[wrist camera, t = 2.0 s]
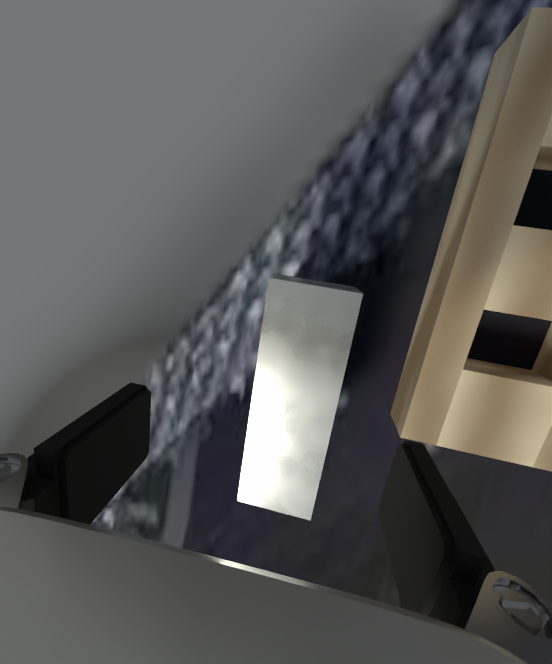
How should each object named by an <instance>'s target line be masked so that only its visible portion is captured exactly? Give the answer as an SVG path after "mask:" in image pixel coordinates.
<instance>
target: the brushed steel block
mask: <svg viewBox="0 0 552 664" xmlns="http://www.w3.org/2000/svg"><path fill="white" fill-rule="evenodd" d="M362 296H363V293H362V292H361V291H360V290H359V289H357V288H356V287H352V286H346V285H340V284H334V283H328V282H322V281H316V280H310V279H304V278H298V277H292V276H286V275H280V274H279V275H276V276H273V277H270V278H269V281H268V288H267V295H266V302H265V309H264V316H263V323H262V330H261V337H260V344H259V351H258V358H257V365H256V372H255V379H254V386H253V393H252V400H251V407H250V414H249V421H248V428H247V435H246V442H245V449H244V456H243V463H242V470H241V477H240V484H239V491H238V498H237V501H240V502H244V503H247V504H251V505H255V506H258V507H262V508H266V509H270V510H273V511H277V512H281V513H284V514H288V515H292V516H296V517H299V518H303V519H307V520H311V516H312V512H313V507H314V503H315V499H316V495H317V490H318V486H319V482H320V477H321V473H322V469H323V464H324V460H325V456H326V451H327V447H328V443H329V439H330V434H331V430H332V426H333V421H334V417H335V413H336V408H337V404H338V400H339V395H340V391H341V387H342V383H343V378H344V374H345V370H346V365H347V361H348V357H349V352H350V348H351V344H352V339H353V335H354V331H355V327H356V322H357V318H358V314H359V309H360V305H361V301H362Z"/></svg>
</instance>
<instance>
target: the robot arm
mask: <svg viewBox="0 0 552 664" xmlns="http://www.w3.org/2000/svg"><path fill="white" fill-rule="evenodd" d="M150 408H151V392H150V391H149V390H148V389H147V387H146V386H145V385H140V384H135V383H129V384H128V385H126V386H125V387H123V388H122V389H120V390H119V391H117V392H116V393H115V394H113V395H112V396H110V397H109V398H107V399H106V400H104V401H103V402H101V403H100V404H98V405H97V406H95V407H94V408H92V409H91V410H89V411H88V412H86V413H85V414H84V415H82V416H81V417H79V418H78V419H76V420H75V421H73V422H72V423H70V424H69V425H67V426H66V427H64V428H63V429H62V430H60V431H59V432H57V433H56V434H54V435H53V436H51V437H50V438H48V439H47V440H45V441H44V442H42V443H41V444H39V445H38V446H37V447H35V448H34V454H32V455H31V456H29V457H28V458H27V457H26V456H24V455H22V454H19V453H2V454H0V664H552V606H551V605H550V604H549V603H548V602H547V601H546V600H545V599H544V598H543V597H542V596H541V595H540V594H539V593H538V592H537V591H536V590H534V589H533V588H532V587H531V586H529V585H528V584H527V583H525V582H523V581H522V580H520V579H519V578H517V577H515V576H513V575H510V574H508V573H505V572H499V571H495V569H494V567H493V566H492V564H491V562H490V560H489V558H488V557H487V555H486V553H485V551H484V550H483V548H482V546H481V544H480V542H479V541H478V539H477V537H476V535H475V534H474V532H473V530H472V528H471V526H470V525H469V523H468V521H467V519H466V517H465V516H464V514H463V512H462V510H461V509H460V507H459V505H458V503H457V501H456V500H455V498H454V496H453V495H452V493H451V492H450V491H449V489H448V487H447V485H446V483H445V482H444V480H443V478H442V476H441V475H440V473H439V471H438V469H437V467H436V466H435V464H434V462H433V460H432V458H431V457H430V455H429V453H428V451H427V449H426V448H425V446H424V445H423V444H420V443H415V442H410V441H405V442H404V443H403V444H399V445H398V446H397V449H396V452H395V456H394V459H393V462H392V465H391V468H390V472H389V475H388V478H387V481H386V484H385V488H384V491H383V494H382V497H381V500H380V504H379V515H380V519H381V524H382V528H383V532H384V536H385V540H386V545H387V549H388V553H389V557H390V562H391V566H392V570H393V574H394V578H395V583H396V587H397V591H398V595H399V600H400V604H401V608H399V607H396V606H392V605H389V604H385V603H382V602H378V601H375V600H372V599H368V598H365V597H361V596H358V595H354V594H350V593H347V592H343V591H339V590H336V589H332V588H328V587H324V586H321V585H317V584H313V583H310V582H306V581H302V580H299V579H295V578H291V577H288V576H284V575H280V574H276V573H273V572H269V571H265V570H262V569H258V568H254V567H250V566H246V565H243V564H239V563H235V562H231V561H228V560H224V559H220V558H216V557H213V556H209V555H205V554H201V553H197V552H193V551H190V550H186V549H182V548H178V547H174V546H171V545H167V544H163V543H159V542H155V541H151V540H147V539H143V538H140V537H136V536H132V535H128V534H124V533H120V532H116V531H112V530H108V529H105V528H101V527H97V526H93V525H90V524H91V523H92V522H93V520H94V519H95V518H96V517H97V516H98V514H99V513H100V512H101V511H102V510H103V509H104V507H105V506H106V505H107V504H108V503H109V501H110V500H111V499H112V498H113V497H114V496H115V494H116V493H117V492H118V491H119V490H120V488H121V487H122V486H123V485H124V484H125V483H126V481H127V480H128V479H129V478H130V477H131V475H132V474H133V473H134V472H135V471H136V470H137V468H138V467H139V466H140V465H141V464H142V462H143V461H144V460H145V459H146V457H147V455H148V452H149V439H150Z"/></svg>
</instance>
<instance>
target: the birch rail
mask: <svg viewBox="0 0 552 664" xmlns="http://www.w3.org/2000/svg"><path fill="white" fill-rule="evenodd" d="M533 169H541V170H550V171H552V8H547V7H532V8H531V10H530V11H529V12H528V13H527V15H526V16H525V17H524V18H523V19H522V21H521V22H520V23H519V24H518V26H517V27H516V28H515V29H514V30H513V32H512V33H511V34H510V35H509V37H508V38H507V39H506V40H505V41H504V43H503V44H502V45H501V46H500V47H499V49H498V50H497V51H496V52H495V54H494V57H493V61H492V64H491V67H490V71H489V74H488V78H487V81H486V85H485V88H484V92H483V95H482V99H481V102H480V105H479V109H478V112H477V116H476V119H475V123H474V126H473V130H472V133H471V137H470V140H469V143H468V147H467V150H466V154H465V157H464V161H463V164H462V168H461V171H460V175H459V178H458V181H457V185H456V188H455V192H454V195H453V199H452V202H451V206H450V209H449V213H448V216H447V219H446V223H445V226H444V230H443V233H442V237H441V240H440V244H439V247H438V250H437V254H436V257H435V261H434V264H433V268H432V271H431V275H430V278H429V282H428V285H427V288H426V292H425V295H424V299H423V302H422V306H421V309H420V313H419V316H418V320H417V323H416V326H415V330H414V333H413V337H412V340H411V344H410V347H409V351H408V354H407V358H406V361H405V364H404V368H403V371H402V375H401V378H400V382H399V385H398V389H397V392H396V396H395V399H394V402H393V406H392V409H391V413H390V414H391V416H392V419H393V421H394V423H395V426H396V428H397V431H398V433H399V435H400V437H401V438H406V439H410V440H414V441H419V442H423V443H428V444H432V445H437V446H441V447H446V448H450V449H454V450H459V451H463V452H468V453H472V454H477V455H481V456H486V457H490V458H495V459H499V460H503V461H508V462H512V463H517V464H521V465H526V466H530V467H535V468H539V469H543V470H548V471H552V323H551V325H550V328H549V330H548V332H547V335H546V337H545V340H544V342H543V344H542V347H541V349H540V351H539V354H538V356H537V359H536V361H535V363H534V366H533V368H532V370H528V369H523V368H517V367H512V366H507V365H501V364H496V363H491V362H485V361H480V360H475V359H469V358H467V356H468V353H469V350H470V347H471V344H472V341H473V339H474V336H475V333H476V330H477V327H478V324H479V321H480V319H481V316H482V313H483V310H490V311H496V312H502V313H508V314H514V315H520V316H526V317H532V318H538V319H544V320H550V321H552V230H545V229H538V228H530V227H522V226H515V225H513V224H514V221H515V218H516V215H517V213H518V210H519V207H520V204H521V201H522V198H523V195H524V193H525V190H526V187H527V184H528V181H529V178H530V175H531V172H532V170H533Z"/></svg>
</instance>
